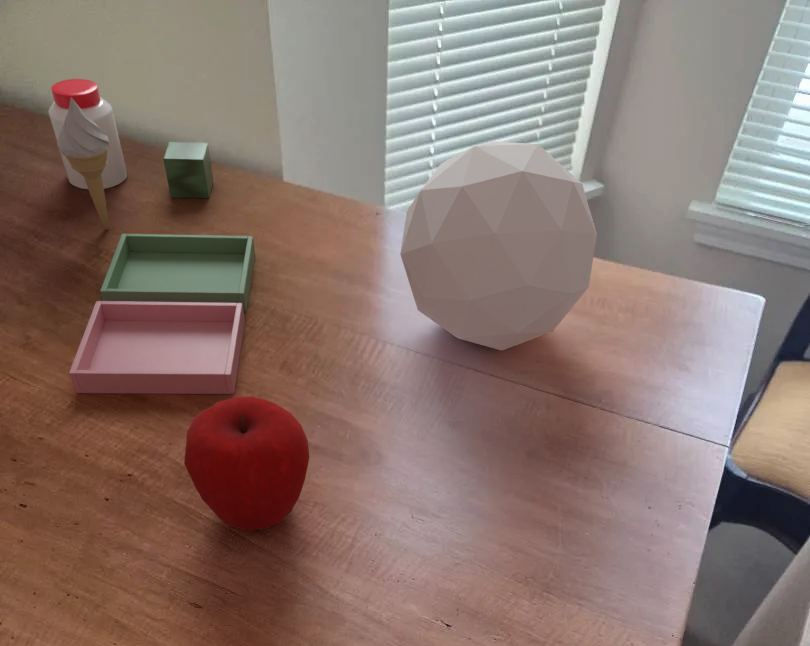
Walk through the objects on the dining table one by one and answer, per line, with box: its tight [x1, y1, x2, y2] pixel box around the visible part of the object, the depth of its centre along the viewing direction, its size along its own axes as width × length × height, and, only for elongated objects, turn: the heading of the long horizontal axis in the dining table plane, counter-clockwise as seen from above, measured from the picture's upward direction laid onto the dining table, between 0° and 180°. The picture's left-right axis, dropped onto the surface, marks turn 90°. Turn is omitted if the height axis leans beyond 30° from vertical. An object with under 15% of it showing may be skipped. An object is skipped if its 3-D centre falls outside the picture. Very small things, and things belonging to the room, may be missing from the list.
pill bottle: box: [48, 78, 128, 190], centre depth 97 cm, size 8×8×11 cm
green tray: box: [100, 233, 256, 313], centre depth 85 cm, size 15×12×2 cm
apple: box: [183, 395, 310, 531], centre depth 60 cm, size 10×10×11 cm
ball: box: [399, 140, 598, 351], centre depth 76 cm, size 19×20×20 cm
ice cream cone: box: [56, 97, 110, 231], centre depth 87 cm, size 6×6×15 cm
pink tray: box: [68, 300, 246, 395], centre depth 76 cm, size 15×12×2 cm
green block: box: [163, 141, 214, 199], centre depth 99 cm, size 5×5×5 cm
